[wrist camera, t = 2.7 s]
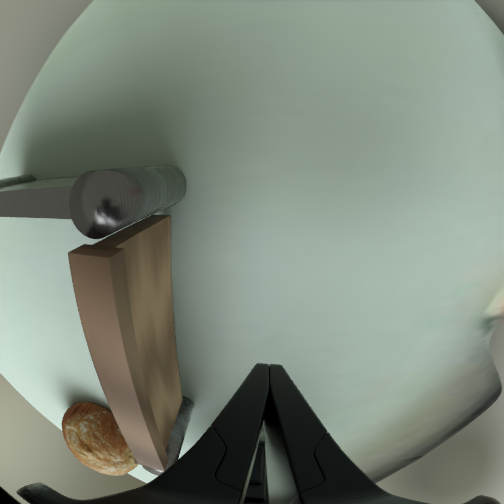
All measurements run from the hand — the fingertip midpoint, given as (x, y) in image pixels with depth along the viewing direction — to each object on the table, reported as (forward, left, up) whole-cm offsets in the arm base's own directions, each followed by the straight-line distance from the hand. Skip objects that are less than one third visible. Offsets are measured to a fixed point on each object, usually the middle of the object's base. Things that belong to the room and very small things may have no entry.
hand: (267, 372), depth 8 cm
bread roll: (-21, +16, -8) cm, 28 cm away
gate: (-3, +6, -7) cm, 10 cm away
